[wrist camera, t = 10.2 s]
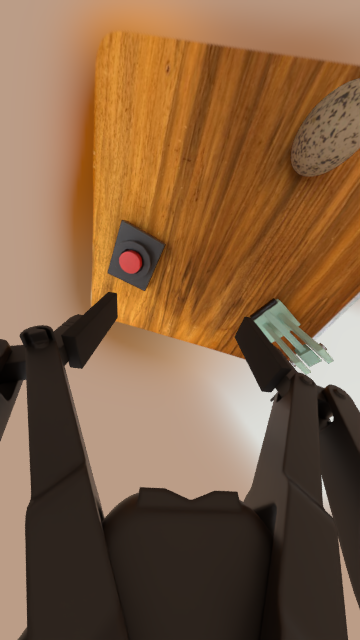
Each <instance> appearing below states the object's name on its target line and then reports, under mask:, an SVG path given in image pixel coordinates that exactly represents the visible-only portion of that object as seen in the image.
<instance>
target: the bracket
mask: <svg viewBox="0 0 360 640" xmlns="http://www.w3.org/2000/svg"><path fill="white" fill-rule="evenodd" d="M276 301H277V302H278V304H276V305H275V306H274V307H272V308H271V309H270V310H269V311H270V312H271V313H272V314H273V315H274V316H275V317H276V318H277V320H278V321H279V322H280V323H281V324H282V325H283V326H284V327H285V328H286V329H287V330H288V331H289V332H290V331H291V330H292V331H293V332H294V333H295V334H296V335H297V336H298V337H300V338H301V339H302V340H303V341H304V342H305V343H306V344H307V345H308V346H309V347H311V348H312V349H313V350H314V351H315V352H316V353H317V354H318V355H319V356H320V357H321V358H323V359H324V360H325V361H326V362H327V363H328V364H329V363H331V362H333V361H334V360H333V359H332V358H331V357H330V355H329V354H328V353H327V352H326V350H327V348H326V347H325V346H323V345H322V344H321V343H320V344H318V343H317V342H316V341H314V340H313V339H312V338H311V337H310V336H308V335H307V334H306V333H305V332H304V331H302V330H301V329H300V328H299V327H298V326H299V325H300V324H299V322H298V321H297V320H296V319H295V318H294V316H293V315H292V314H291V313H290V312H289V310H288V309H287V308H286V307H285V306H284V305H283V303H282V302H281V301H280V300H279V299H276ZM254 322H255V323H256V324H257V325H258V327H259V328H260V329H261V330H262V332H263V333H264V334H265V335H266V337H267V338H268V339H269V340H270V342H271V343H272V342H274V341H276V342H277V343H278V345H279V346H280V347H281V348H282V349H283V351H284V352H285V353H286V354H287V355H288V356H289V358H290V359H291V360H289V361H290V362H291V363H292V365H294V367H295V366H297V367H299V368H300V369H301V370H302V371H303V372H304V373H305V374H308V373H311V371H310V370H309V369H308V368H307V367H306V366H305V365H304V364H303V363H302V361H301V360H300V359H299V358H298V357H297V356H296V355H295V354H294V353H293V351H292V350H291V349H290V348H289V347H288V346H287V345H286V344H285V343H284V342H283V341H282V339H281V338H280V337H282V336H283V334H282V333H281V332H280V331H279V330H278V329H277V328H276V327H275V326H274V325H273V324H272V323H271V322H270V321H269V320H268V319H267V318H266V317H265V315H264V314H263V315H261V316H260V317H259V318H257V319H256V320H255V321H254Z"/></svg>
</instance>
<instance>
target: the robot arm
mask: <svg viewBox="0 0 360 640" xmlns="http://www.w3.org/2000/svg"><path fill="white" fill-rule="evenodd" d="M117 318H118V315H117V293H112V292H108V293H107V294H106V295H105V296H104V297H102V298H101V299H100V300H99V301H98V302H97V303H96V304H95V305H94V306H93V307H91V308H90V309H89V310H88V311H87V312H86V313H85V314H84V315H79V314H78V315H75V316H73V317H71V318H69V319H68V320H67V321H66V322H64V323H63V324H62V326H60V327H58V329H56V330H55V331H54V332H53V329H52V328H51V327H49V326H43V325H42V326H34V327H30V328H28V329H26V330H24V331H23V332H22V333H21V334H20V338H21V340H22V342H23V344H24V345H17V346H10V345H9V344H8V342H7V341H6V340H2V339H0V441H1V438H2V435H3V433H4V430H5V428H6V425H7V422H8V420H9V417H10V414H11V411H12V409H13V406H14V404H15V401H16V398H17V396H18V393H19V390H20V387H21V385H22V382H23V380H27V404H28V427H29V451H30V472H31V473H30V474H31V500H30V503H29V505H28V507H27V511H26V521H25V537H26V538H25V539H26V585H27V586H26V587H27V628H26V629H25V630H24V632H23V633H22V635H21V636H20V637H19V639H18V640H348V635H347V625H346V615H345V605H344V595H343V585H342V574H341V564H340V554H339V544H338V538H339V542H340V546H341V549H342V553H343V557H344V560H345V564H346V568H347V571H348V574H349V578H350V581H351V584H352V587H353V591H354V594H355V597H356V600H357V602H358V605H359V608H360V412H359V410H358V408H357V407H356V405H355V404H354V402H353V400H352V399H351V397H350V396H349V395H348V394H347V393H346V392H345V391H343V390H342V389H341V388H339V387H337V386H334V385H328V386H327V387H326V388H322V387H320V386H317V385H316V384H315V383H314V381H313V380H312V379H311V378H309V377H308V376H306V375H304V374H302V373H298V372H297V371H296V370H295V368H294V367H293V366H292V365H291V363H290V362H289V361H288V360H287V359H286V357H285V356H284V355H283V354H282V352H281V351H280V350H279V349H278V348H276V347H275V346H273V344H272V343H271V342H270V340H269V339H268V338H267V337H266V335H265V334H264V333H263V332H262V330H261V329H260V328H259V327H258V325H257V324H256V323H255V322H254V320H253V319H252V318H249V317H244V319H243V321H242V323H241V325H240V327H239V329H238V331H237V333H236V335H235V339H236V341H237V343H238V345H239V347H240V349H241V351H242V353H243V355H244V357H245V359H246V361H247V363H248V364H249V366H250V369H251V371H252V372H253V375H254V377H255V379H256V381H257V383H258V385H259V387H260V389H261V391H264V392H272V391H273V389H274V388H276V389H277V391H278V392H277V393H276V395H275V396H274V397H273V398H272V399H271V401H273V400H274V402H273V406H272V410H271V414H270V418H269V421H268V425H267V430H266V433H265V437H264V441H263V445H262V449H261V453H260V456H259V460H258V464H257V468H256V472H255V476H254V480H253V484H252V487H251V489H250V491H249V492H248V494H247V496H246V498H245V500H244V502H242V501H240V500H239V497H238V492H229V491H213V492H211V493H208V494H206V495H203V496H201V497H198V498H196V499H193V500H189V499H187V498H185V497H182V496H180V495H178V494H176V493H174V492H172V491H169V490H167V489H164V488H144V487H141V488H140V489H139V493H136V494H134V495H131V496H129V497H128V498H126V499H124V500H123V501H122V502H120V503H119V504H118V505H117V506H116V507H115V508H114V509H113V510H112V511H111V512H110V513H109V514H108V515H107V516H106V518H104V515H103V511H102V507H101V503H100V499H99V496H98V492H97V489H96V485H95V482H94V478H93V474H92V470H91V466H90V463H89V459H88V455H87V451H86V447H85V443H84V439H83V436H82V432H81V428H80V424H79V420H78V416H77V413H76V409H75V405H74V402H73V397H72V393H71V390H70V386H69V382H68V378H67V374H66V370H65V367H64V366H65V365H66V363H67V362H68V361H69V365H70V367H73V368H81V369H82V368H83V367H84V365H85V364H86V362H87V361H88V360H89V358H90V357H91V355H92V354H93V352H94V351H95V349H96V348H97V347H98V345H99V344H100V342H101V341H102V339H103V338H104V336H105V335H106V333H107V332H108V331H109V329H110V328H111V326H112V325H113V323H114V322H115V321H116V319H117ZM331 416H333V417H334V420H333V422H331V421H330V419H329V418H330V417H331ZM321 475H322V479H323V482H324V486H325V490H326V494H327V497H328V501H329V505H330V508H331V512H332V515H333V518H332V516H330V515H329V514H328V513H327V512H326V511H325V509H324V507H323V501H322V482H321V481H322V480H321Z"/></svg>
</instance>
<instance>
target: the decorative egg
mask: <svg viewBox="0 0 360 640" xmlns="http://www.w3.org/2000/svg"><path fill="white" fill-rule="evenodd" d="M359 148H360V78H359V79H355V80H352V81H350V82H348V83H345V84H343V85H342V86H340V87H338V88H337V89H335V90H334V91H332V92H331V93H330V94H328V95H327V96H326V97H325V98H324V99H323V100H321V101H320V102H319V103H318V104H317V105H316V106H315V107H314V109H313V110H312V111H311V112H310V113H309V115H308V116H307V117H306V119H305V120H304V122H303V123H302V125H301V127H300V128H299V130H298V132H297V134H296V136H295V139H294V142H293V145H292V149H291V163H292V166H293V169H294V170H295V171H296V172H297V173H298V174H300V175H302V176H308V177H310V176H317V175H321V174H324V173H326V172H328V171H330V170H332V169H334V168H335V167H337V166H339V165H340V164H342V163H343V162H344V161H346V160H347V159H348V158H349V157H350V156H352V155H353V154H354V153H355V152H356V151H357V150H358V149H359Z"/></svg>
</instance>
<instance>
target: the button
mask: <svg viewBox="0 0 360 640" xmlns="http://www.w3.org/2000/svg"><path fill="white" fill-rule="evenodd" d="M119 263H120V266H121V268H122V269H123V270H124V271H125V272H127V273H130V274H133V273H136V272H137V271H138V270H139V269H140V268H141V267H142V258H141V256H140V255H139V254H138V253H137V252H135V251H132V250H129V251H126V252H124V253H122V254H121V256H120V258H119Z"/></svg>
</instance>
